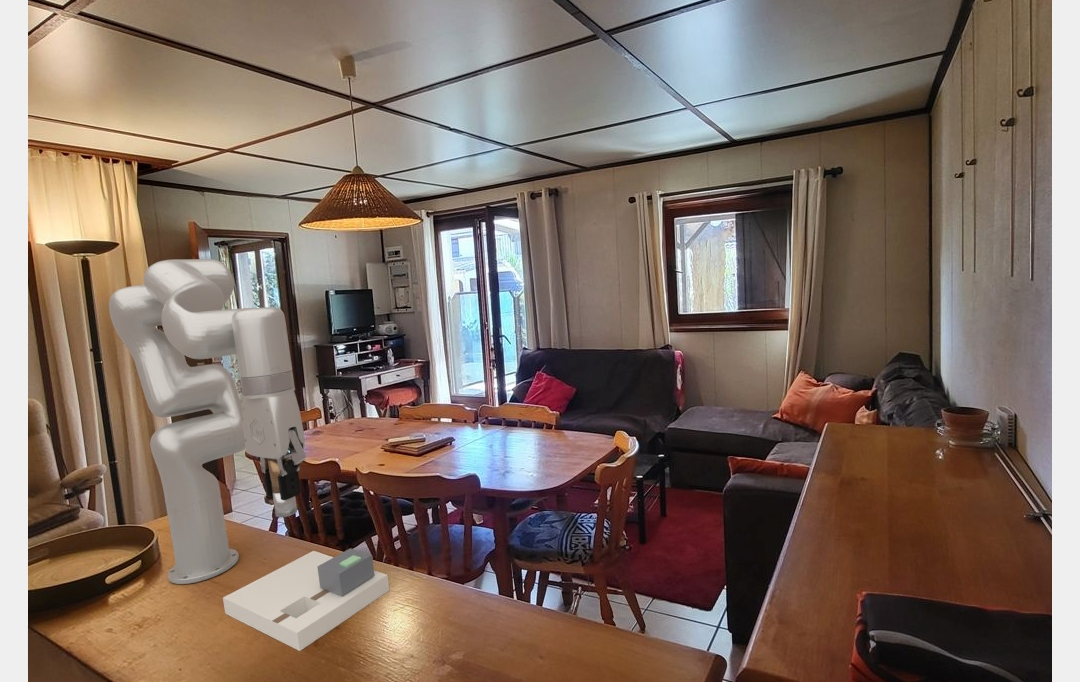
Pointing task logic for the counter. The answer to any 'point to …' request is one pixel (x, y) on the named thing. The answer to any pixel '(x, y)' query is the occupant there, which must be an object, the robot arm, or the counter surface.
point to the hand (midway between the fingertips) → (283, 494)
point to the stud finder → (345, 571)
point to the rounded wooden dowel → (281, 506)
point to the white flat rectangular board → (299, 602)
